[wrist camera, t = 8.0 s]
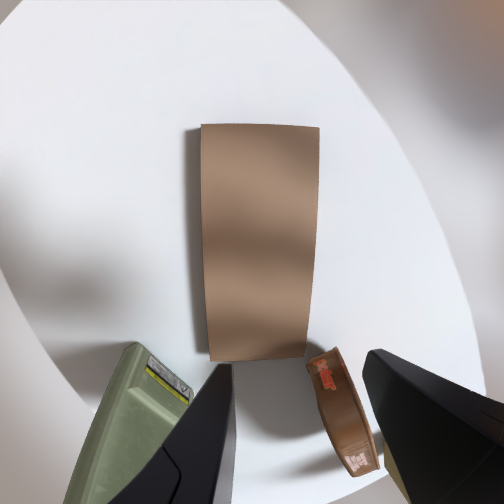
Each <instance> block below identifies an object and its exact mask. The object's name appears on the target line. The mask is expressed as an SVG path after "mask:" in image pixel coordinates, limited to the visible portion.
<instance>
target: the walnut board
mask: <svg viewBox="0 0 504 504" xmlns="http://www.w3.org/2000/svg"><path fill="white" fill-rule="evenodd" d="M318 186H319V128H317V127H306V126H293V125H275V124H201V217H202V246H203V268H204V286H205V302H206V316H207V330H208V342H209V353H210V361H248V360H267V359H282V358H294V357H304V354H305V346H306V339H307V330H308V322H309V313H310V303H311V293H312V282H313V271H314V258H315V244H316V229H317V210H318Z"/></svg>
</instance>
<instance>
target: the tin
mask: <svg viewBox="0 0 504 504" xmlns="http://www.w3.org/2000/svg"><path fill="white" fill-rule="evenodd" d="M306 368H307V370H308V372H309V374H310V375H311V378H312V381H313V384H314V387H315V391H316V396H317V404H318V409H319V412H320V415H321V418H322V421H323V423H324V426H325V429H326V432H327V434H328V436H329V439H330V441H331V443H332V445H333V447H334V449H335V451H336V453H337V455H338V456H339V458H340V460H341V461H342V463H343V465H344V466H345V468H346V469H347V471H348V472H349V474H350V475H351V476H352V477H358V476H361V475H364V474H367V473H369V472H372V471H374V470H379V469H380V465H379V460H378V456H377V452H376V448H375V443H374V439H373V436H372V433H371V430H370V427H369V423H368V421H367V418H366V415H365V412H364V409H363V406H362V404H361V401H360V398H359V396H358V394H357V391H356V388H355V386H354V383H353V381H352V379H351V377H350V374H349V372H348V369H347V367H346V365H345V363H344V360H343V358H342V356H341V354H340V352H339V350H338V348H337V347H334V348H333V349H332V350H330V351H328V352H325V353H323V354H321V355H318V356H316V357H314V358H312V359H310V360H309V361H307V363H306Z"/></svg>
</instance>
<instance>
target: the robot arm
mask: <svg viewBox="0 0 504 504" xmlns="http://www.w3.org/2000/svg"><path fill="white" fill-rule="evenodd" d="M362 376H363V380H364V383H365V387H366V390H367V393H368V396H369V399H370V402H371V406H372V409H373V412H374V415H375V418H376V420H377V422H378V425H379V427H380V429H381V432H382V434H383V436H384V438H385V441H386V443H387V445H388V448H389V450H390V452H391V455H392V457H393V460H394V462H395V464H396V467H397V469H398V472H399V474H400V477H401V479H402V481H403V484H404V486H405V489H406V492H407V494H408V497H409V499H410V502H411V504H504V404H503V403H500V402H498V401H495V400H492V399H490V398H487V397H485V396H482V395H480V394H478V393H476V392H473V391H470V390H469V389H467V388H464V387H462V386H460V385H458V384H456V383H453V382H451V381H449V380H447V379H445V378H442V377H440V376H438V375H436V374H434V373H432V372H429V371H427V370H425V369H423V368H421V367H419V366H417V365H415V364H413V363H410V362H408V361H406V360H404V359H402V358H400V357H398V356H396V355H394V354H392V353H390V352H388V351H385V350H383V349H375V350H370V351H369V352H368V354H367V357H366V360H365V364H364V368H363V371H362ZM161 446H162V447H161ZM161 446H160V447H159V448H158V449H157V451H156V452H155V453H154V455H153V456H152V457H151V459H150V460H149V461H148V462H147V464H146V465H145V466H144V467H143V468H142V470H141V471H140V472H139V473H138V474H137V475H136V476H135V477H134V478H133V479H132V480H131V481H130V482H129V483H128V484H127V485H126V486H125V487H124V488H123V489H122V490H121V491H120V492H119V493H118V494H117V495H116V496H115V497H114V498H113V499H111V500H110V501H109V502H108V503H107V504H231V498H232V486H233V474H234V462H235V451H236V415H235V393H234V375H233V365H232V364H218V365H217V366H216V367H215V369H214V370H213V371H212V373H211V374H210V376H209V377H208V379H207V380H206V382H205V383H204V385H203V386H202V388H201V389H200V390H199V392H198V393H197V395H196V396H195V398H194V399H193V401H192V402H191V403H190V405H189V406H188V408H187V409H186V411H185V412H184V413H183V415H182V416H181V418H180V419H179V420H178V422H177V423H176V425H175V426H174V427H173V429H172V430H171V432H170V433H169V434H168V436H167V437H166V438H165V440H164V441H163V443H162V444H161Z"/></svg>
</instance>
